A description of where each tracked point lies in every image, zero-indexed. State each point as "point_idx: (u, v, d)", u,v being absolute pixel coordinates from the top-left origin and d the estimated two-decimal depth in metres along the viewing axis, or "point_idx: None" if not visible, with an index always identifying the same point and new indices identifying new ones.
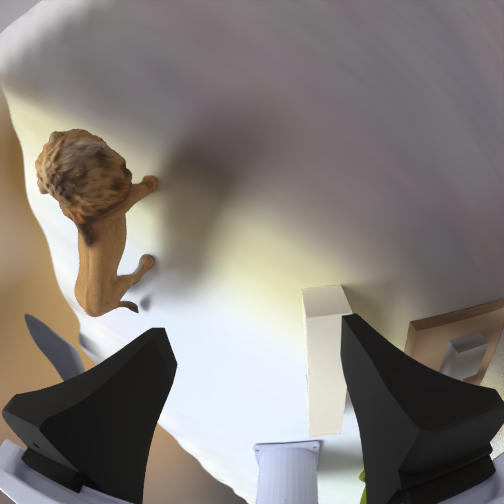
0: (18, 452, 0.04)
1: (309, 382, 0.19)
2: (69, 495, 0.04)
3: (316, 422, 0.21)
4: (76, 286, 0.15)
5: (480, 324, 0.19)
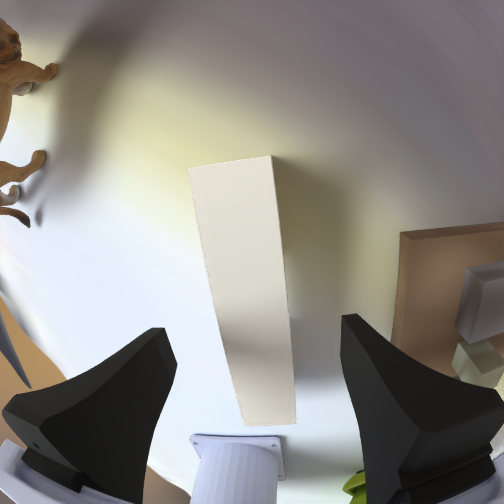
0: (18, 452, 0.04)
1: (217, 313, 0.12)
2: (69, 495, 0.04)
3: (250, 399, 0.13)
4: None
5: None
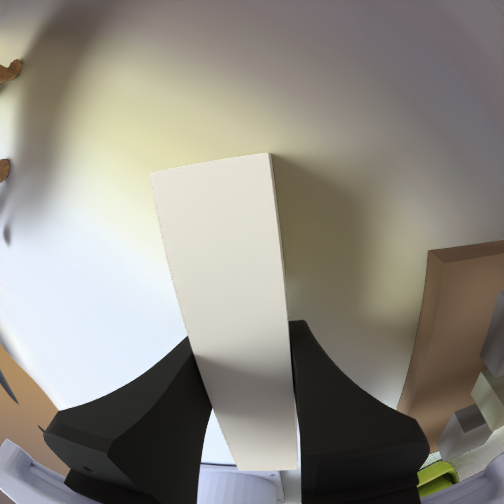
0: (18, 452, 0.04)
1: (199, 362, 0.09)
2: (69, 495, 0.04)
3: (244, 448, 0.10)
4: None
5: None
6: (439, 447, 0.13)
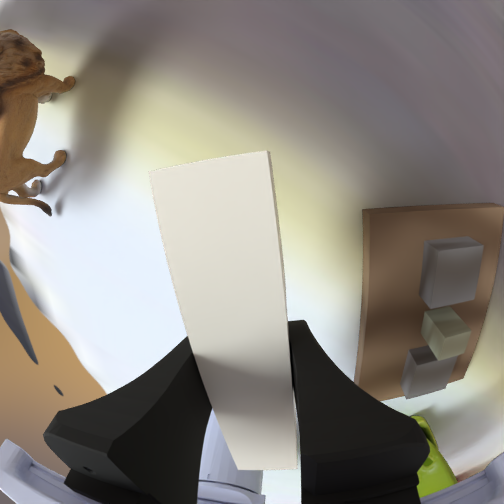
0: (18, 452, 0.04)
1: (198, 361, 0.09)
2: (69, 495, 0.04)
3: (243, 447, 0.10)
4: None
5: (467, 224, 0.15)
6: (402, 386, 0.20)
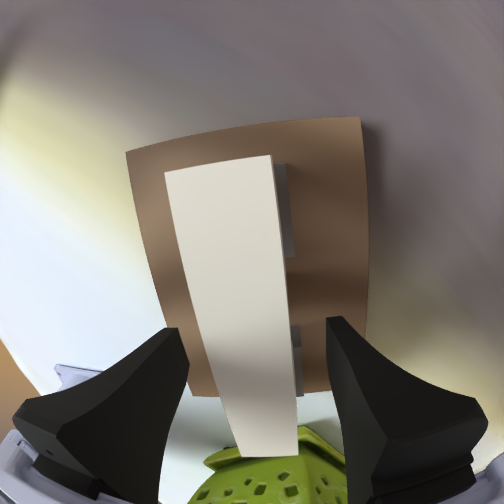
0: (18, 452, 0.04)
1: (206, 346, 0.10)
2: (69, 495, 0.04)
3: (247, 433, 0.11)
4: None
5: (279, 145, 0.13)
6: None
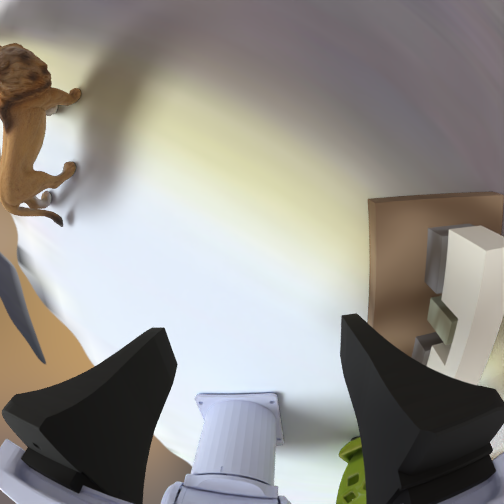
0: (18, 452, 0.04)
1: (466, 344, 0.12)
2: (69, 495, 0.04)
3: None
4: None
5: (469, 212, 0.16)
6: None
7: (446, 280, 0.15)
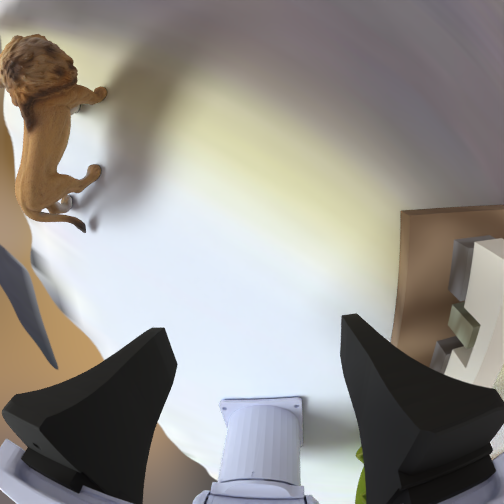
0: (18, 452, 0.04)
1: (487, 348, 0.13)
2: (69, 495, 0.04)
3: None
4: (16, 178, 0.12)
5: (489, 224, 0.16)
6: None
7: (470, 289, 0.15)
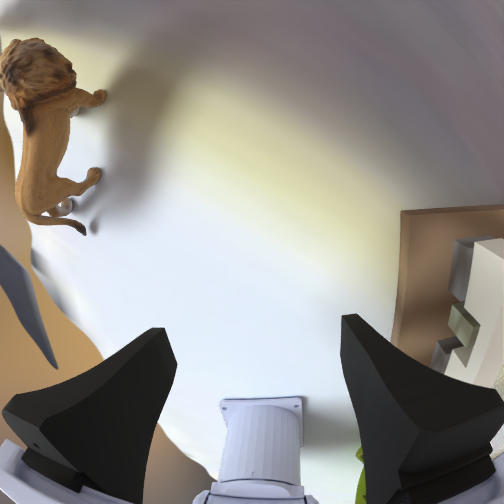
0: (18, 452, 0.04)
1: (487, 348, 0.13)
2: (69, 495, 0.04)
3: None
4: (16, 182, 0.12)
5: (489, 224, 0.16)
6: None
7: (470, 289, 0.15)
